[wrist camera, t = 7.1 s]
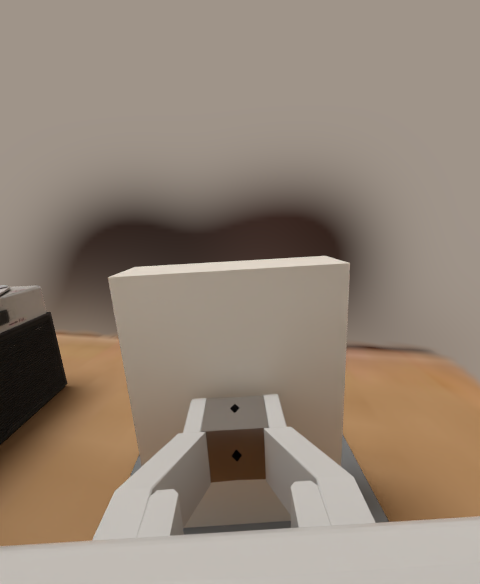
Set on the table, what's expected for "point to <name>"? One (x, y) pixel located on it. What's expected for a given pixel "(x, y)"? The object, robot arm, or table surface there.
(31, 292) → the camera
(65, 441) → the table surface
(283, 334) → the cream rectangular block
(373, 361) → the table surface
